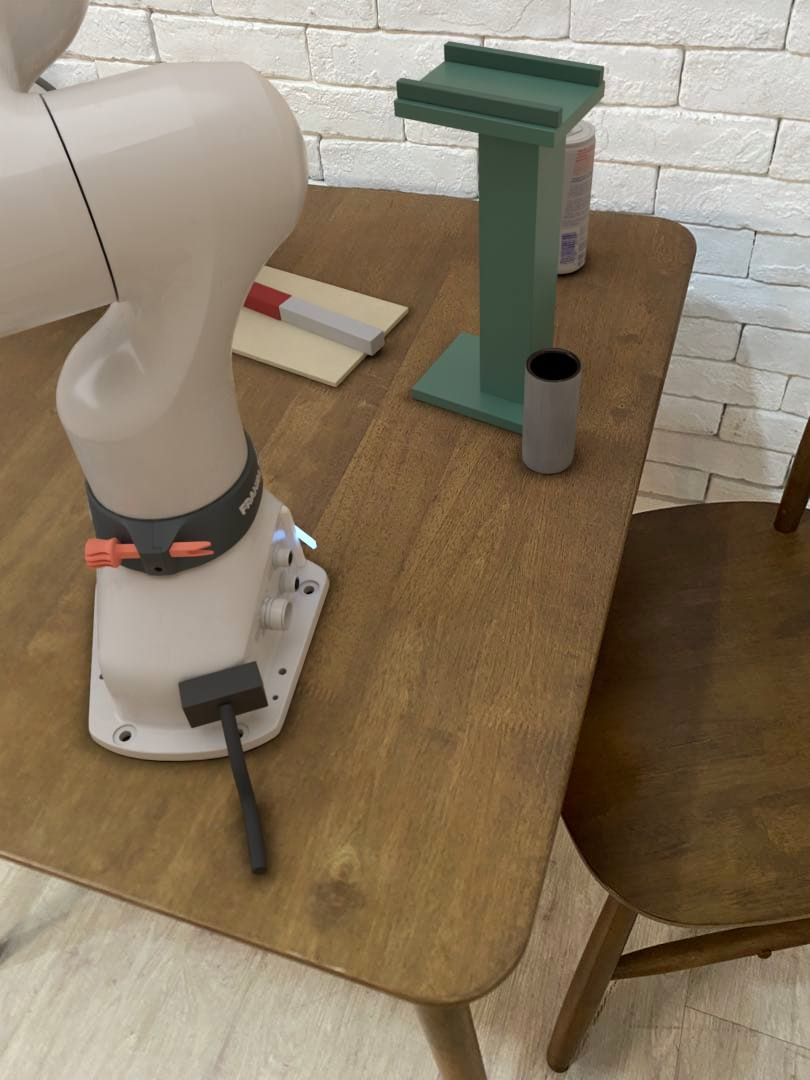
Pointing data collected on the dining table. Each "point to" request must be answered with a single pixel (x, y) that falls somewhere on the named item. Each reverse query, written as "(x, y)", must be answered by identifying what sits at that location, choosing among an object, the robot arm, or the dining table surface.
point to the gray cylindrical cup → (550, 409)
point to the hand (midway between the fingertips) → (195, 116)
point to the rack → (505, 211)
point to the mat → (303, 347)
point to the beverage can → (576, 196)
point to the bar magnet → (315, 319)
